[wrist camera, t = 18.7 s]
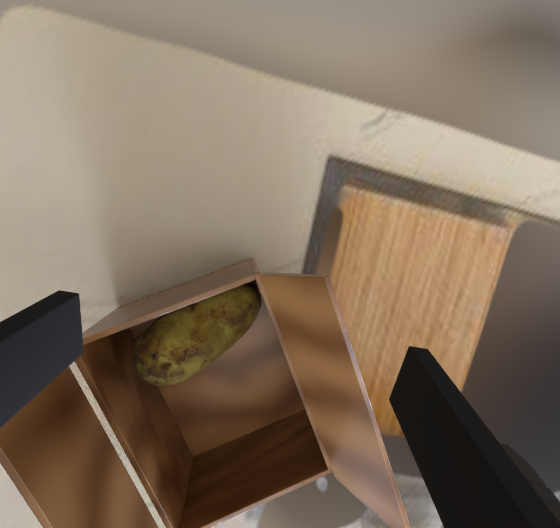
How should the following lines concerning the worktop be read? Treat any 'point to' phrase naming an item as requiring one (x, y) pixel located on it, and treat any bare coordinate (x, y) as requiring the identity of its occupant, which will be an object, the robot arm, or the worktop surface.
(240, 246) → the worktop surface
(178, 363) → the potato
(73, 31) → the worktop surface
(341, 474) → the flap
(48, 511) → the wooden box
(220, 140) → the worktop surface
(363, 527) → the worktop surface
